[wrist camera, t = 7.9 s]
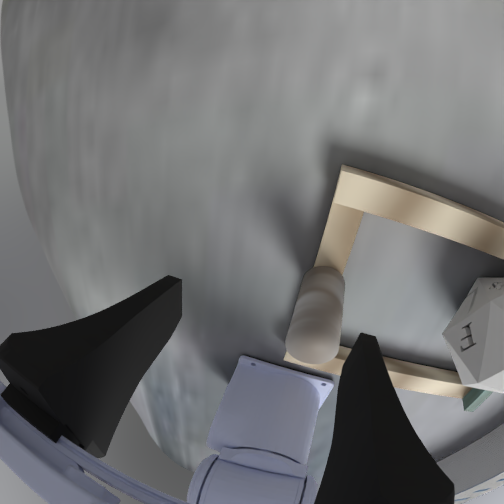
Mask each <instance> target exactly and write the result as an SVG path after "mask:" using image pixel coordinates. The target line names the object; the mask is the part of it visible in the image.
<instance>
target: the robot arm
mask: <svg viewBox="0 0 504 504" xmlns="http://www.w3.org/2000/svg"><path fill="white" fill-rule="evenodd" d="M181 317H182V279H179V278H176V277H173V276H170V275H168V276H166V277H164V278H162V279H161V280H159V281H157V282H155V283H153V284H152V285H150V286H148V287H147V288H145V289H143V290H141V291H140V292H138V293H136V294H134V295H132V296H130V297H129V298H127V299H125V300H123V301H121V302H119V303H117V304H115V305H113V306H111V307H109V308H107V309H105V310H102V311H100V312H98V313H95V314H93V315H90V316H88V317H85V318H82V319H79V320H76V321H73V322H70V323H66V324H63V325H60V326H56V327H51V328H47V329H42V330H36V331H29V332H22V333H12V334H11V335H10V336H9V337H8V338H7V339H6V340H5V341H4V342H3V343H2V344H1V345H0V369H1V371H2V372H3V374H4V375H5V377H6V378H7V380H8V381H9V382H10V384H9V385H8V386H7V387H6V386H5V385H4V384H3V383H2V382H1V381H0V459H1V460H2V461H3V462H4V463H5V464H6V465H7V466H8V467H9V468H10V469H11V470H12V471H13V472H14V473H15V474H16V475H17V476H18V477H19V478H20V479H21V480H22V481H23V482H24V483H26V484H27V485H28V486H29V487H30V488H31V489H32V490H33V491H34V492H36V493H37V494H38V495H39V496H40V497H41V498H42V499H44V500H45V501H46V502H47V503H49V504H119V503H120V499H119V498H118V497H116V496H114V495H113V494H112V493H110V492H109V491H108V490H107V489H106V488H105V487H104V486H102V485H101V484H99V483H97V482H96V481H94V480H93V479H91V478H90V477H88V476H87V475H85V474H84V470H85V471H87V472H88V473H90V474H91V475H93V476H95V477H96V478H98V479H99V480H101V481H103V482H105V483H106V484H108V485H110V486H112V487H114V488H115V489H117V490H119V491H121V492H122V493H125V494H126V495H128V496H130V497H132V498H134V499H136V500H138V501H140V502H142V503H144V504H454V500H455V487H454V483H453V482H452V481H451V480H450V479H449V477H448V476H447V475H446V474H445V473H444V472H443V471H442V469H441V468H440V467H439V466H438V464H437V463H436V462H435V460H434V459H433V458H432V457H431V455H430V454H429V452H428V451H427V449H426V448H425V446H424V445H423V443H422V442H421V440H420V439H419V437H418V435H417V434H416V432H415V430H414V429H413V427H412V425H411V423H410V421H409V419H408V418H407V416H406V414H405V412H404V410H403V407H402V405H401V403H400V401H399V398H398V396H397V394H396V391H395V389H394V386H393V384H392V381H391V378H390V376H389V373H388V371H387V368H386V365H385V362H384V359H383V356H382V353H381V351H380V348H379V345H378V342H377V339H376V337H375V336H372V335H368V334H364V333H360V335H359V337H358V339H357V341H356V342H355V344H354V346H353V348H352V350H351V352H350V353H349V355H348V357H347V359H346V361H345V362H344V364H343V366H342V371H341V376H340V381H339V386H338V394H337V404H336V414H335V423H334V432H333V439H332V445H331V449H330V453H329V457H328V461H327V465H326V468H325V472H324V475H323V478H322V481H321V485H320V488H319V491H318V493H317V487H318V484H317V482H316V481H315V480H314V477H313V476H306V473H307V469H308V466H307V465H306V464H307V460H308V455H309V451H310V447H311V442H312V438H313V433H314V428H315V424H316V419H317V414H318V410H319V409H320V407H321V406H322V404H323V402H324V401H325V399H326V398H327V396H328V395H329V393H330V391H331V390H332V388H333V387H334V382H333V381H332V380H329V379H325V378H321V377H317V376H313V375H309V374H305V373H302V372H298V371H294V370H291V369H287V368H284V367H280V366H277V365H274V364H270V363H267V362H264V361H260V360H257V359H254V358H251V357H248V356H244V355H243V356H240V358H239V361H238V364H237V367H236V369H235V371H234V374H233V376H232V378H231V380H230V383H229V384H228V385H227V387H226V390H225V393H224V396H223V399H222V401H221V403H220V405H219V408H218V410H217V412H216V415H215V417H214V420H213V423H212V425H211V428H210V431H209V435H208V438H207V446H208V447H209V448H211V449H214V450H216V451H218V452H220V455H216V454H212V455H210V456H209V457H207V458H205V459H204V460H203V461H202V462H201V463H200V465H199V466H198V468H197V469H196V471H195V473H194V475H193V478H192V480H191V483H190V486H189V490H188V495H187V502H185V501H182V500H180V499H177V498H175V497H172V496H170V495H168V494H165V493H163V492H160V491H159V490H156V489H154V488H152V487H150V486H148V485H146V484H144V483H142V482H140V481H138V480H136V479H134V478H132V477H129V476H128V475H126V474H124V473H122V472H120V471H118V470H117V469H115V468H113V467H111V466H109V465H108V464H106V463H104V462H103V461H101V460H99V459H98V458H101V457H104V456H105V455H106V452H107V450H108V447H109V445H110V442H111V439H112V437H113V434H114V432H115V430H116V427H117V426H118V423H119V421H120V419H121V417H122V415H123V413H124V410H125V408H126V406H127V404H128V402H129V400H130V398H131V397H132V395H133V393H134V391H135V389H136V387H137V386H138V384H139V382H140V380H141V379H142V377H143V376H144V374H145V373H146V371H147V370H148V368H149V367H150V366H151V364H152V363H153V361H154V360H155V359H156V357H157V356H158V354H159V353H160V352H161V350H162V349H163V347H164V346H165V345H166V343H167V342H168V340H169V339H170V337H171V336H172V334H173V332H174V330H175V329H176V327H177V325H178V323H179V321H180V319H181ZM81 448H82V449H81ZM305 477H306V478H305ZM316 494H317V496H316Z"/></svg>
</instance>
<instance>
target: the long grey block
mask: <svg viewBox="0 0 504 504" xmlns="http://www.w3.org/2000/svg"><path fill="white" fill-rule="evenodd" d="M436 463H437V464H438V466H439V467H440V468H441V469H442V471H443V472H444V473H445V474H446V475H447V476H448V477H449V479H450V480H451V481H452V482H453V483H454V487H455V500H454V504H462V503H465V502H467V501H469V500H472V499H475V498H477V497H479V496H481V495H484V494H486V493H488V492H490V491H492V490H494V489H496V488H499V487H500V486H502V485H504V423H503V424H502V425H500V426H499V427H497V428H496V429H494V430H493V431H491V432H490V433H488V434H486V435H485V436H483V437H482V438H480V439H478V440H477V441H475V442H473V443H472V444H470V445H468V446H467V447H465V448H463V449H461V450H459V451H458V452H456V453H454V454H452V455H450V456H448V457H446V458H444V459H442V460H440V461H438V462H436Z"/></svg>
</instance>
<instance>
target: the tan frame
mask: <svg viewBox="0 0 504 504" xmlns="http://www.w3.org/2000/svg"><path fill="white" fill-rule="evenodd" d="M364 212H368V213H371V214H374V215H377V216H381V217H384V218H387V219H390V220H394V221H397V222H400V223H403V224H406V225H409V226H412V227H415V228H418V229H421V230H424V231H427V232H430V233H433V234H436V235H439V236H442V237H444V238H447V239H450V240H453V241H456V242H458V243H461V244H464V245H467V246H469V247H472V248H475V249H477V250H480V251H483V252H485V253H488V254H490V255H493V256H495V257H498V258H500V259H503V260H504V222H502V221H499V220H497V219H495V218H493V217H490V216H488V215H486V214H483V213H481V212H479V211H476V210H474V209H472V208H469V207H467V206H464V205H462V204H459V203H457V202H454V201H452V200H449V199H446V198H444V197H441V196H438V195H436V194H433V193H430V192H428V191H425V190H422V189H419V188H416V187H413V186H411V185H408V184H405V183H402V182H399V181H396V180H393V179H390V178H386V177H383V176H380V175H377V174H374V173H370V172H367V171H364V170H360V169H357V168H353V167H350V166H346V165H343V164H342V166H341V170H340V174H339V178H338V182H337V186H336V189H335V193H334V197H333V201H332V204H331V208H330V212H329V215H328V219H327V223H326V226H325V230H324V233H323V237H322V240H321V244H320V247H319V250H318V254H317V257H316V260H315V264H314V267H313V268H312V269H310V270H308V271H307V272H306V274H305V275H304V277H303V280H302V284H301V288H300V291H299V295H298V298H297V302H296V305H295V309H294V313H293V316H292V319H291V323H290V326H289V330H288V333H287V336H286V340H285V347H286V349H287V350H286V353H285V357H284V361H288V362H291V363H295V364H299V365H302V366H306V367H310V368H313V369H317V370H321V371H325V372H329V373H333V374H337V375H341V371H342V366H343V364H344V362H345V361H346V359H347V357H348V355H349V353H350V352H351V350H352V349H350V348H346V347H343V346H339V344H340V335H341V325H342V315H343V304H344V291H345V281H344V278H343V276H342V274H343V271H344V268H345V266H346V263H347V260H348V257H349V255H350V252H351V249H352V246H353V243H354V240H355V237H356V234H357V231H358V228H359V225H360V222H361V219H362V216H363V213H364ZM383 359H384V362H385V365H386V368H387V371H388V373H389V376H390V378H391V381H392V384H393V386H394V387H395V388H401V389H406V390H411V391H417V392H423V393H428V394H435V395H441V396H448V397H455V398H462V399H463V406H464V411H471V412H473V411H474V410H475V409H476V408H477V407H478V406H480V405H481V404H482V403H483V402H484V401H485V400H486V399H487V398H488V397H489V396H490V395H491V394H492V393H493V391H488V390H482V389H478V388H473V387H468V386H463V385H462V382H461V379H460V377H459V374H458V372H454V371H449V370H444V369H439V368H434V367H429V366H424V365H419V364H414V363H410V362H405V361H401V360H396V359H392V358H388V357H383Z"/></svg>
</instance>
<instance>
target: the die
mask: <svg viewBox="0 0 504 504" xmlns="http://www.w3.org/2000/svg"><path fill="white" fill-rule="evenodd" d="M442 335H443V337H444V339H445V342H446V344H447V346H448V349H449V351H450V354H451V356H452V359H453V361H454V364H455V366H456V369H457V371H458V374H459V377H460V379H461V382H462V385H463V386H468V387H473V388H478V389H482V390H488V391H493V392H498V393H503V394H504V278H477V279H476V281H475V283H474V285H473V286H472V288H471V290H470V291H469V293H468V295H467V298H465V300H464V301H463V303H462V304H461V306H460V308H459V309H458V311H457V312H456V314H455V315H454V317H453V318H452V320H451V321H450V323H449V324H448V326H447V327H446V329H445V330H444V332H443V333H442Z"/></svg>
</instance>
